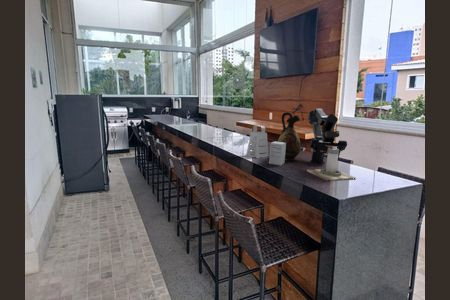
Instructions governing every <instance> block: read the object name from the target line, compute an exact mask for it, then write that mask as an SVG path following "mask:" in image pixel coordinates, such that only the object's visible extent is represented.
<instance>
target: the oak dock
mask: <svg viewBox="0 0 450 300" xmlns="http://www.w3.org/2000/svg"><path fill="white" fill-rule="evenodd" d="M306 172H308V173H310V174H312V175H314V176H316V177H318V178H321V179H323V180H325V181H327V182H328V180H330V181H344V179H350V180H354V179H353V178H356V176H352V175H350V174H349V173H345V172H342V171H340V170H337V169H336V173H335V174H334V173H327V172H326V168H321V169H306Z"/></svg>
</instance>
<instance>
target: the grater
mask: <svg viewBox="0 0 450 300" xmlns="http://www.w3.org/2000/svg"><path fill="white" fill-rule="evenodd" d="M258 127H260V128H261V130H260V131H258ZM249 135H250V136H249V141H248V145H247V149H246V154H245V156H248V157H252V158H255V157H256V158H257V159H261V158H260V157H262V158H268V157H267V156H269V145H268V133H267V132H266V126H265V125H259V124H257V125H254V126H253V127H252V131H250V134H249Z"/></svg>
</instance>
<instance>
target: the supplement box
mask: <svg viewBox="0 0 450 300" xmlns="http://www.w3.org/2000/svg"><path fill="white" fill-rule="evenodd" d="M269 146H270V147H269V158H268V164H270V165H275V166H282V165H284V164H285V161H286V160H285V150H286V143H284V142H277V141H276V140H275V141H272V142H270V145H269Z"/></svg>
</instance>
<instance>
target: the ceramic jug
mask: <svg viewBox="0 0 450 300" xmlns="http://www.w3.org/2000/svg"><path fill="white" fill-rule="evenodd" d="M286 116H289V117H288V118H287V120H286V122H285V117H286ZM301 121H302V120H301V118H300V116H298V115H296V114H295V115H293V114H292V112H290V111H285V112H283V114H281V122H282V123H281V124H282V130H281V134H280V135H279V138H278V139H277V141H276V142H284V143H286V150H285V161H295V159H296V157H297V156H298V155H299V154H300V153H301V149H302V145H301V140H300V137H299V135H298V132H297V131H296V129H295V126H294V124H296V123H298V122H301ZM286 123H287V126H286Z"/></svg>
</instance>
